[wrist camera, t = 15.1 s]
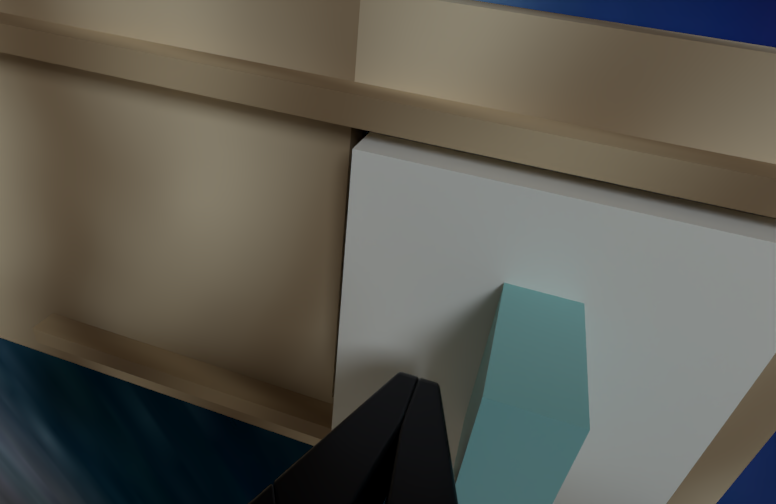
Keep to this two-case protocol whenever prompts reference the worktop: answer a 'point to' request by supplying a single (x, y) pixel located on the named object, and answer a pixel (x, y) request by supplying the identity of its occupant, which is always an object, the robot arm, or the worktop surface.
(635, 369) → the cover
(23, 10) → the board
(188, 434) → the worktop surface
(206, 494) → the worktop surface
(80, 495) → the worktop surface
